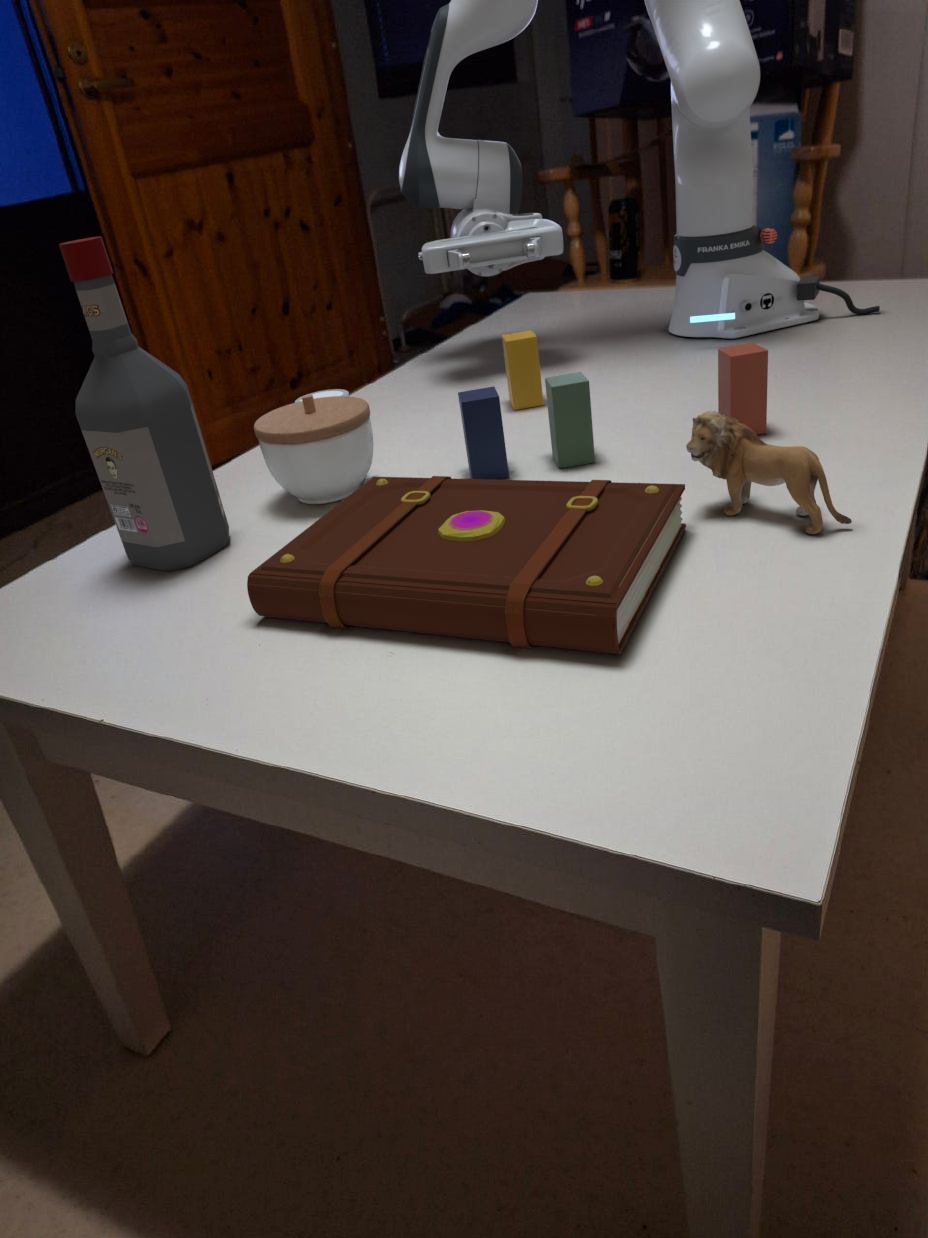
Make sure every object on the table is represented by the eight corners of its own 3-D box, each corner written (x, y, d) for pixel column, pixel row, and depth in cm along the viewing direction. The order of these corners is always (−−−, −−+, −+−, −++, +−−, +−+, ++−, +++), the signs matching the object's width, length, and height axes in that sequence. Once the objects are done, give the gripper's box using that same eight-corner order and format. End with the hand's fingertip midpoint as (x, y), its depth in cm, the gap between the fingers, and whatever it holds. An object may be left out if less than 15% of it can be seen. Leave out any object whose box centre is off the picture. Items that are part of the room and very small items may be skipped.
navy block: (504, 465, 101) (494, 386, 96) (509, 477, 97) (499, 395, 93) (469, 471, 101) (457, 392, 96) (473, 483, 97) (461, 402, 93)
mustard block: (538, 397, 122) (531, 329, 118) (543, 405, 118) (536, 335, 114) (509, 402, 122) (501, 334, 118) (513, 410, 118) (505, 341, 114)
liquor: (179, 576, 87) (68, 247, 72) (118, 564, 92) (3, 253, 77) (244, 536, 93) (155, 227, 79) (185, 527, 98) (90, 234, 84)
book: (382, 513, 93) (373, 468, 91) (686, 527, 80) (685, 475, 78) (254, 623, 76) (239, 571, 74) (616, 664, 63) (612, 602, 60)
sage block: (587, 450, 101) (581, 371, 97) (595, 462, 98) (589, 380, 93) (552, 456, 101) (544, 377, 97) (559, 468, 97) (551, 386, 93)
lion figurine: (678, 514, 83) (676, 419, 79) (705, 492, 86) (704, 401, 82) (839, 540, 74) (846, 435, 70) (863, 516, 77) (871, 414, 73)
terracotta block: (752, 422, 101) (754, 341, 97) (766, 433, 98) (768, 350, 93) (718, 428, 101) (717, 348, 97) (730, 439, 98) (730, 356, 93)
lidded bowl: (401, 470, 104) (383, 375, 99) (355, 514, 94) (333, 412, 89) (306, 471, 109) (284, 381, 103) (253, 514, 99) (225, 417, 93)
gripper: (414, 231, 132) (420, 242, 120) (550, 210, 133) (569, 219, 121) (420, 276, 136) (427, 291, 124) (553, 255, 136) (572, 268, 124)
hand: (498, 255), depth 122 cm, fingers open, 8 cm apart
